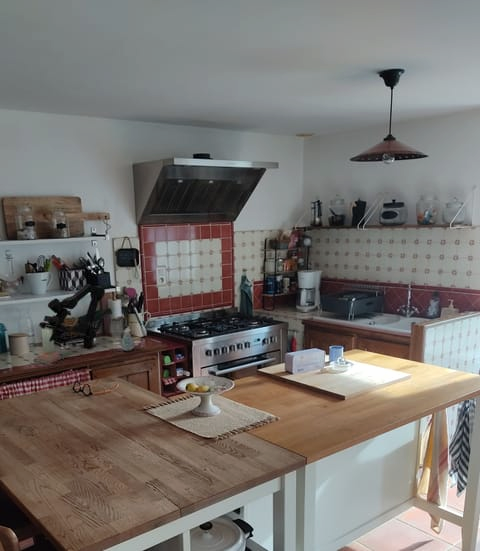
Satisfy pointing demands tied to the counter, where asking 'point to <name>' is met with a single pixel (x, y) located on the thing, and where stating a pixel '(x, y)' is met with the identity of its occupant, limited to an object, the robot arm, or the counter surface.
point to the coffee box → (119, 327)
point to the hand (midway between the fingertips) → (46, 340)
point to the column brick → (47, 340)
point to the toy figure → (127, 341)
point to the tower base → (48, 357)
